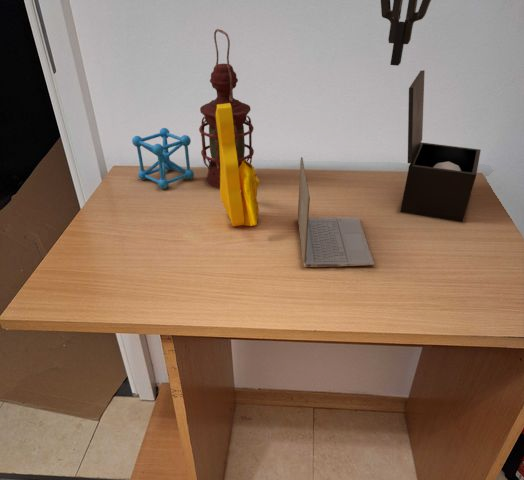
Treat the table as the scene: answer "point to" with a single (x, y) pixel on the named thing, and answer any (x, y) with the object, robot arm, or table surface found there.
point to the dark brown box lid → (415, 115)
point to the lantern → (224, 84)
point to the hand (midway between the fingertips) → (395, 63)
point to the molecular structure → (163, 157)
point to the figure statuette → (235, 174)
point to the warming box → (440, 182)
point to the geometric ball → (447, 166)
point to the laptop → (329, 236)
